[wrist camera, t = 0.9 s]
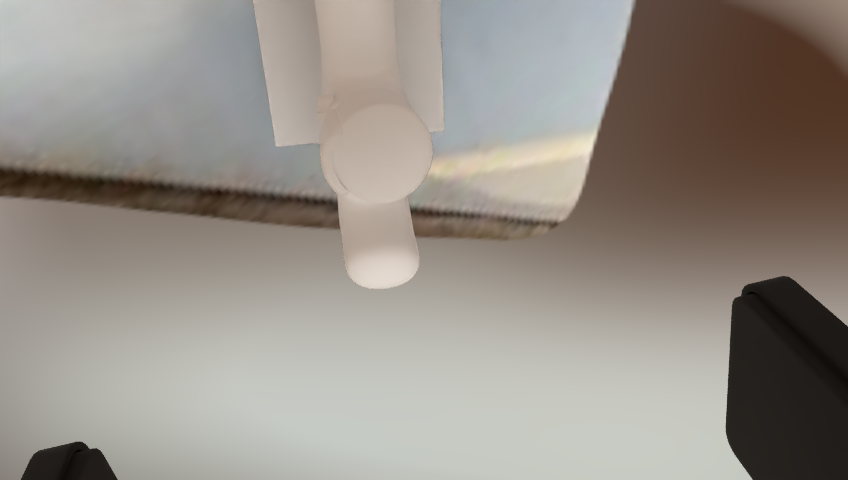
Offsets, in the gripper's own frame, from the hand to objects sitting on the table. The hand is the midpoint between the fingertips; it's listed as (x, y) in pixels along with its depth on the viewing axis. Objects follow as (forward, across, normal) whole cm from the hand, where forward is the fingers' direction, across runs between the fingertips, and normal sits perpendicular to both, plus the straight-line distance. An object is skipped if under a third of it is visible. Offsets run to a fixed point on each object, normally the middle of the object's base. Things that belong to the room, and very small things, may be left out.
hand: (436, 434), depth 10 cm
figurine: (+25, 0, -1) cm, 25 cm away
